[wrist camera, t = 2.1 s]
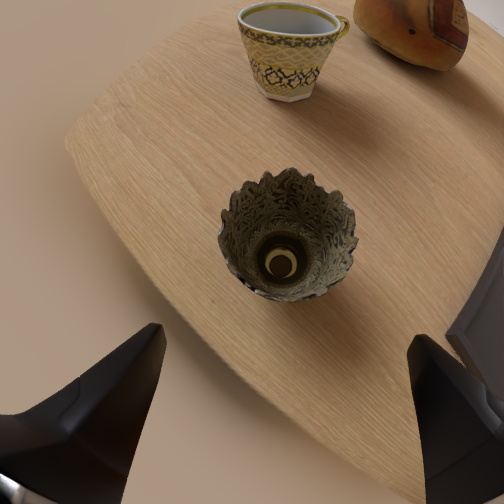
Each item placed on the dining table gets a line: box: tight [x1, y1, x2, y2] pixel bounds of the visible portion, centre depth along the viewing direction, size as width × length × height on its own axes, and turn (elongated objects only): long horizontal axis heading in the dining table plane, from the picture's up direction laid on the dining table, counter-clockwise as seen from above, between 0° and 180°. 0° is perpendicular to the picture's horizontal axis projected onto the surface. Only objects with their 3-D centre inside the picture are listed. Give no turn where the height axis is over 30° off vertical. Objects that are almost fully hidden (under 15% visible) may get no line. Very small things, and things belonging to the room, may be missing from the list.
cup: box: [218, 167, 359, 302], centre depth 18 cm, size 8×7×8 cm
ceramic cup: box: [237, 2, 349, 103], centre depth 23 cm, size 13×10×10 cm
